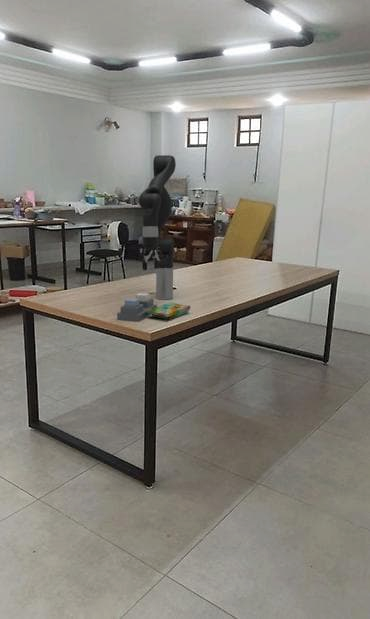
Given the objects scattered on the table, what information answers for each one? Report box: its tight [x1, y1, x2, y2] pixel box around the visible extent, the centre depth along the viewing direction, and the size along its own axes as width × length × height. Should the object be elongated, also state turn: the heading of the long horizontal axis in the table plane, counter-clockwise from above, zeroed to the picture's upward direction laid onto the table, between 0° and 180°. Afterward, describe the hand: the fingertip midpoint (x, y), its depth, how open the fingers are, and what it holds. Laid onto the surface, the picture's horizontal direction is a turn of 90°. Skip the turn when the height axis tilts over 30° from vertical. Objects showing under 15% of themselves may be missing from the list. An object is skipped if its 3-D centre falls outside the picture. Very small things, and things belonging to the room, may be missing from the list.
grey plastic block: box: [116, 298, 158, 323], centre depth 225 cm, size 22×11×6 cm, turn 162°
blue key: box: [124, 297, 139, 308], centre depth 218 cm, size 5×5×3 cm
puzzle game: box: [146, 302, 191, 320], centre depth 225 cm, size 12×5×20 cm
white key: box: [135, 292, 151, 302], centre depth 230 cm, size 5×5×3 cm
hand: (150, 269), depth 232 cm, fingers open, 8 cm apart
